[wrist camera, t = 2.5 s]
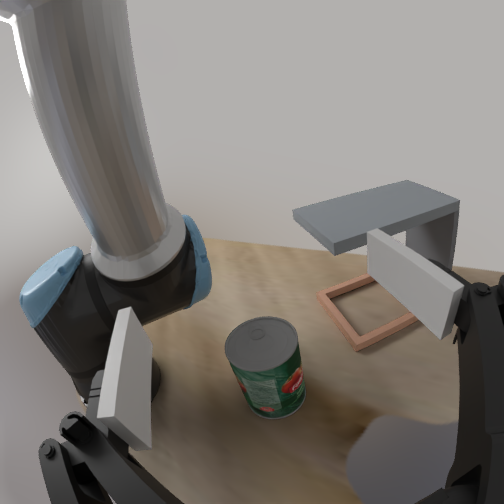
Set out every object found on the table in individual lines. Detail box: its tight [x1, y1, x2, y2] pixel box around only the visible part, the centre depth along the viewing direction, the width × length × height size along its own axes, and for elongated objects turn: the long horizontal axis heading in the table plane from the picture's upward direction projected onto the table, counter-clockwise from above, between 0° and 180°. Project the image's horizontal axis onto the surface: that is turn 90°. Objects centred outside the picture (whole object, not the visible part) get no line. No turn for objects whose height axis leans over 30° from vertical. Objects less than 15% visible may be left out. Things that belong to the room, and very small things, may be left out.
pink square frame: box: [316, 273, 419, 352], centre depth 43 cm, size 14×14×2 cm
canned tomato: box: [225, 316, 306, 419], centre depth 31 cm, size 8×8×11 cm
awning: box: [292, 180, 460, 270], centre depth 39 cm, size 22×12×18 cm, turn 104°
